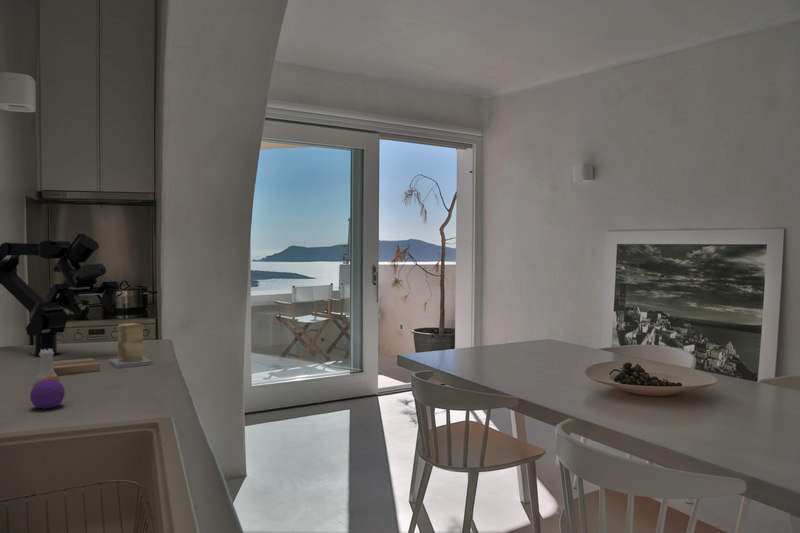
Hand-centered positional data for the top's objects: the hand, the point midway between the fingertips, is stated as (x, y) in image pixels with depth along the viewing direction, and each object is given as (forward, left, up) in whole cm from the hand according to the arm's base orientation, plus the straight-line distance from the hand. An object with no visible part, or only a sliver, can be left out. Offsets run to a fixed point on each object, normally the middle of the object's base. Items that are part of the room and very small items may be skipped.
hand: (96, 313), depth 164 cm
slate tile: (+9, +7, -14) cm, 18 cm away
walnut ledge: (+10, -8, -14) cm, 18 cm away
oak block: (+9, +7, -13) cm, 17 cm away
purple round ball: (+39, -18, -14) cm, 45 cm away
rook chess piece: (+22, -15, -14) cm, 30 cm away
